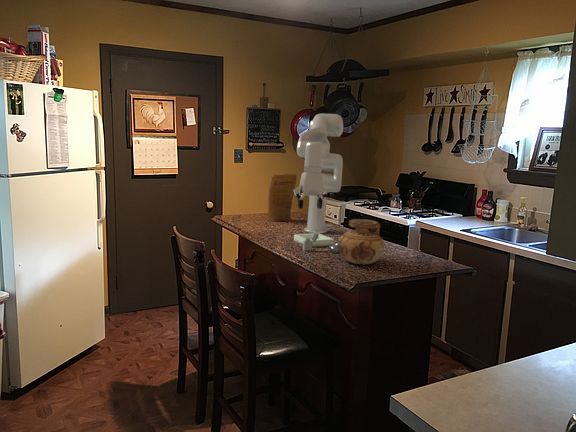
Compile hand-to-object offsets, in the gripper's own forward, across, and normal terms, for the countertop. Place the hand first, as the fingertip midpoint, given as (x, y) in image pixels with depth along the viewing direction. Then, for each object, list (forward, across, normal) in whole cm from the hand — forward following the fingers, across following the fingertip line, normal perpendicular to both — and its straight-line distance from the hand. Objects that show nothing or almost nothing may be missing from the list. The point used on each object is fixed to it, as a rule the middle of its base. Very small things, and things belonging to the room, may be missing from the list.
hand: (309, 208), depth 217 cm
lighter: (+19, -1, +1) cm, 19 cm away
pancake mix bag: (+19, -18, -68) cm, 73 cm away
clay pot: (+19, -12, +25) cm, 34 cm away
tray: (+19, -10, -11) cm, 24 cm away
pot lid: (+19, -12, +7) cm, 24 cm away
